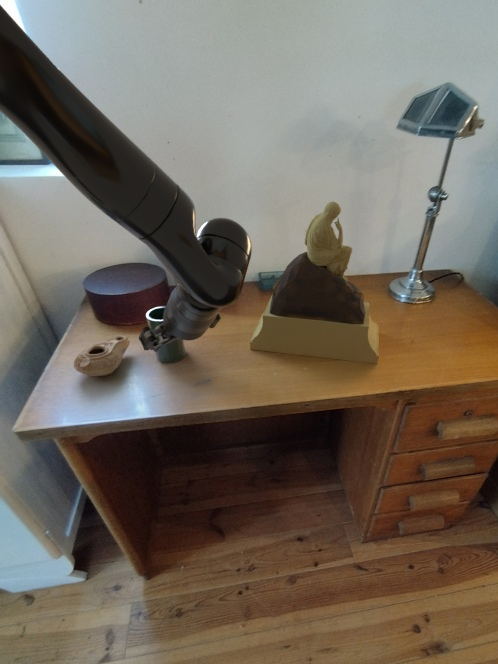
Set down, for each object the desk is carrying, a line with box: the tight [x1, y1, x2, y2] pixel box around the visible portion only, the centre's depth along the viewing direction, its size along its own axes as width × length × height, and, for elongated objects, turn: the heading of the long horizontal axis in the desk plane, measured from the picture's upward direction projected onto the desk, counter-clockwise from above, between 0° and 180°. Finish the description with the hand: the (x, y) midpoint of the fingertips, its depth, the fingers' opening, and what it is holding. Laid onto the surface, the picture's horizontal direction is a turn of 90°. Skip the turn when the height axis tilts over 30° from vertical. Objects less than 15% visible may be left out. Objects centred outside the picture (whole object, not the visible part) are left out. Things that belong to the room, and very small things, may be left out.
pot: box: [145, 305, 186, 364], centre depth 79 cm, size 6×6×10 cm
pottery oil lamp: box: [73, 335, 131, 377], centre depth 77 cm, size 9×12×7 cm
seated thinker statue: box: [249, 201, 380, 365], centre depth 78 cm, size 28×13×30 cm, turn 81°
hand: (174, 339), depth 76 cm, fingers open, 8 cm apart
